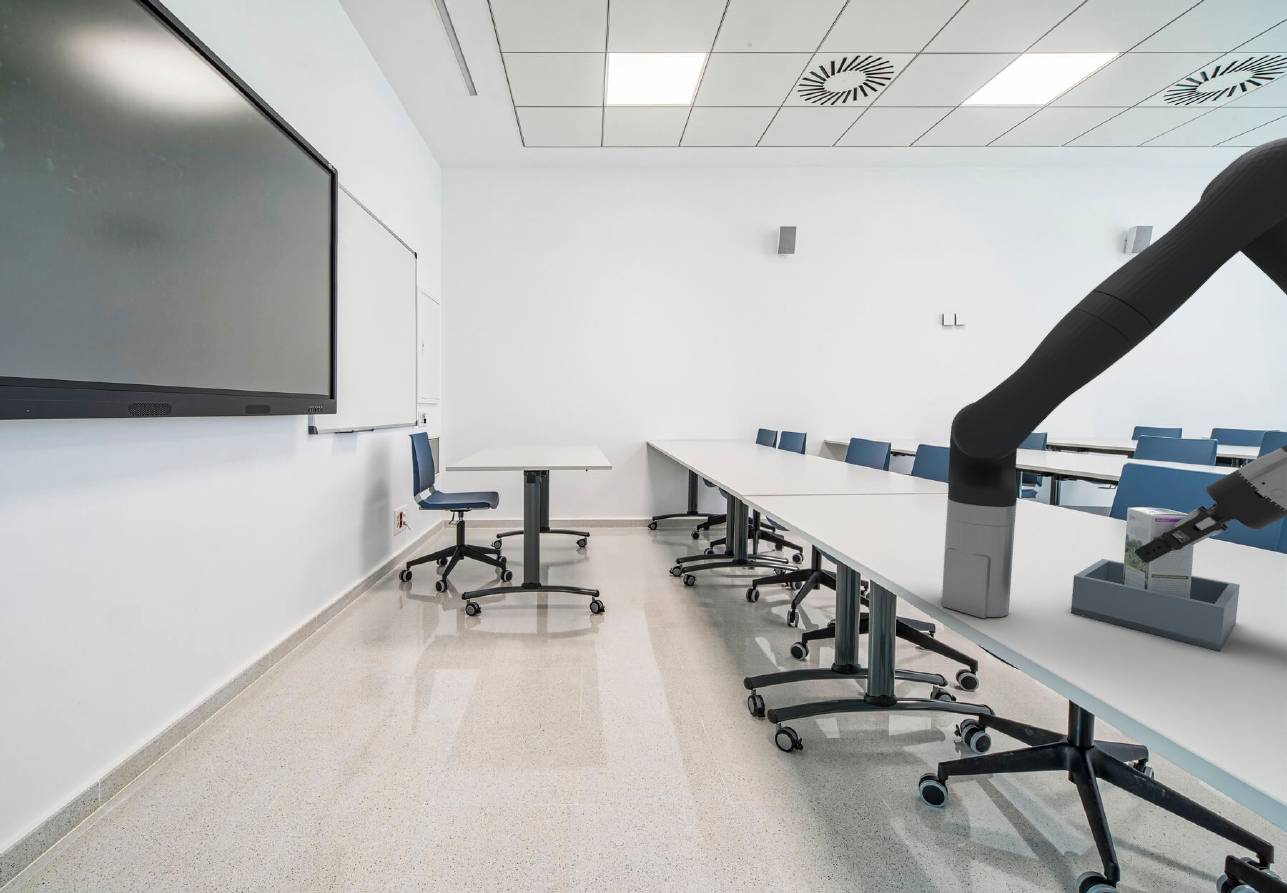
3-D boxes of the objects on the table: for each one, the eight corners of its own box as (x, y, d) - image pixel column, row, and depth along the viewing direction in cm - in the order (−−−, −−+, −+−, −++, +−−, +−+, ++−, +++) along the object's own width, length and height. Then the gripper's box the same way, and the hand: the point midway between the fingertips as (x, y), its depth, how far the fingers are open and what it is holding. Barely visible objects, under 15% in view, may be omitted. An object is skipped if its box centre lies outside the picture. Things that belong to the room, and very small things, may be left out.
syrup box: (1191, 611, 78) (1199, 514, 77) (1144, 608, 79) (1152, 512, 78) (1162, 598, 84) (1169, 507, 83) (1118, 595, 85) (1125, 505, 84)
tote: (1219, 651, 70) (1224, 607, 70) (1070, 612, 83) (1073, 575, 83) (1235, 623, 80) (1239, 584, 80) (1099, 592, 93) (1102, 558, 92)
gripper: (1246, 464, 78) (1136, 526, 88) (1233, 471, 69) (1113, 538, 79) (1300, 505, 74) (1178, 565, 84) (1293, 517, 66) (1158, 582, 76)
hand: (1146, 552), depth 82 cm, fingers closed on syrup box, 8 cm apart
